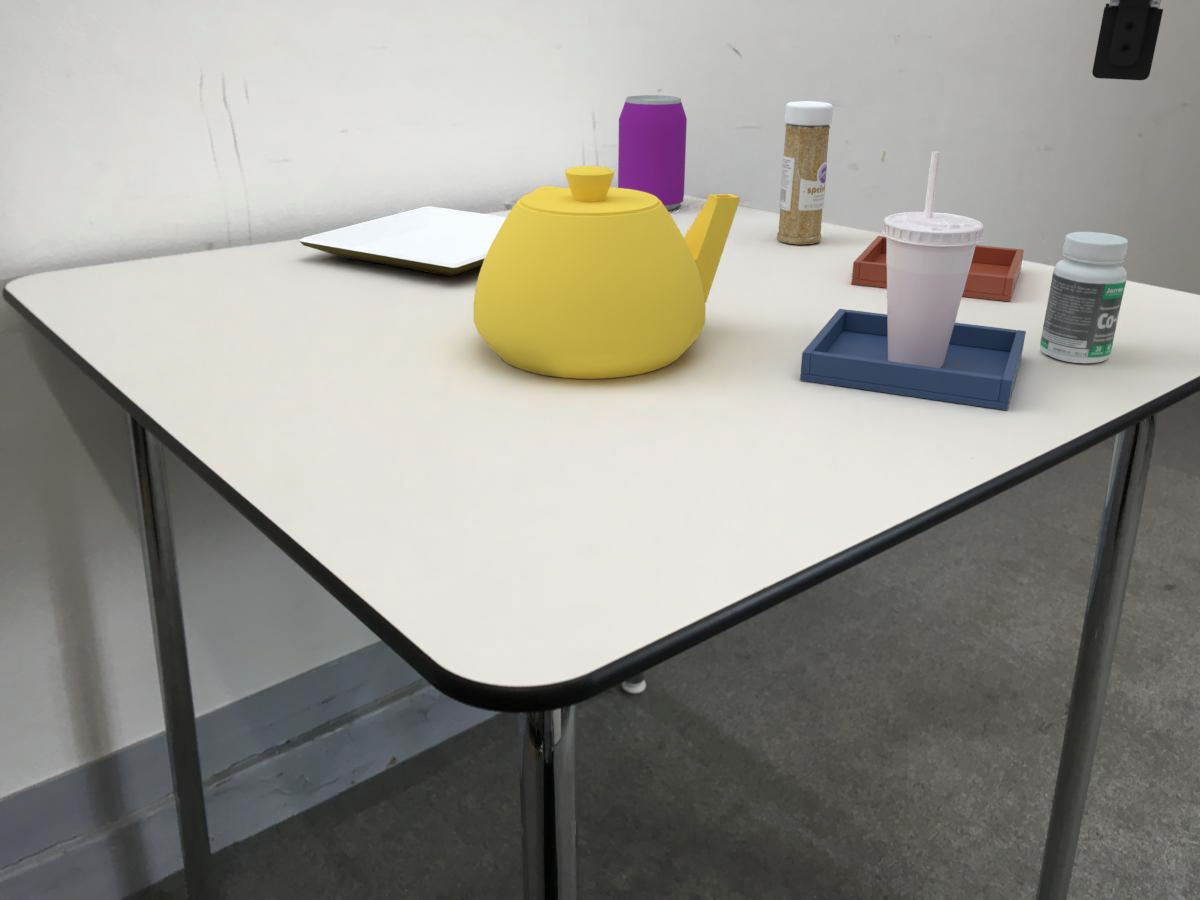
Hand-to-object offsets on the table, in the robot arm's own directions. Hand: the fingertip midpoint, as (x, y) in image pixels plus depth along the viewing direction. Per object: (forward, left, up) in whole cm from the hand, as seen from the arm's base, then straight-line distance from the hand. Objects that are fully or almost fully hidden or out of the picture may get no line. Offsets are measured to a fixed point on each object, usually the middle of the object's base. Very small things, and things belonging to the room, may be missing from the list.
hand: (1119, 72), depth 71 cm
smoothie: (+9, +8, -19) cm, 23 cm away
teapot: (+31, +11, -19) cm, 39 cm away
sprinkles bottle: (+26, -27, -19) cm, 43 cm away
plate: (+56, -7, -19) cm, 60 cm away
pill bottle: (-1, 0, -19) cm, 19 cm away
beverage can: (+46, -37, -19) cm, 63 cm away
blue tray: (+9, +8, -19) cm, 23 cm away
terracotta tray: (+11, -18, -19) cm, 29 cm away
